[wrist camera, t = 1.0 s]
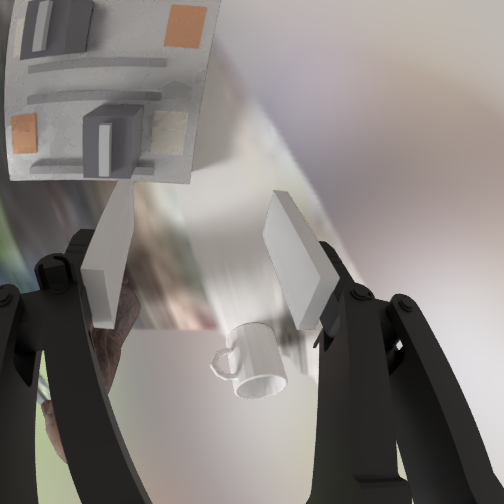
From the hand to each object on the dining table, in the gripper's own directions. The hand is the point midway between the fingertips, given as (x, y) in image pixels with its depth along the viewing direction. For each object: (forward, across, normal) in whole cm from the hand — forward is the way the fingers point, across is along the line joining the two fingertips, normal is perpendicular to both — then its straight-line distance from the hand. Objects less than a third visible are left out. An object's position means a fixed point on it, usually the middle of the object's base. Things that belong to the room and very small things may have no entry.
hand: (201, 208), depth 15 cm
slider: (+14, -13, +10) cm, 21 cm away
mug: (+17, +10, -32) cm, 38 cm away
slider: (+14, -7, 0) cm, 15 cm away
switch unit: (+17, -10, +5) cm, 20 cm away
